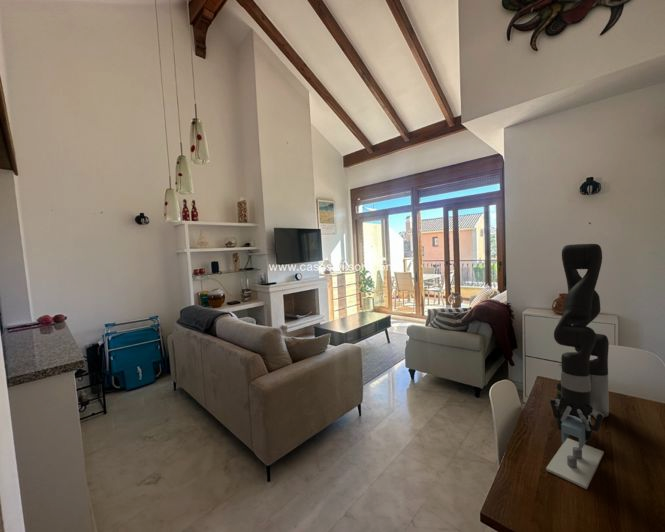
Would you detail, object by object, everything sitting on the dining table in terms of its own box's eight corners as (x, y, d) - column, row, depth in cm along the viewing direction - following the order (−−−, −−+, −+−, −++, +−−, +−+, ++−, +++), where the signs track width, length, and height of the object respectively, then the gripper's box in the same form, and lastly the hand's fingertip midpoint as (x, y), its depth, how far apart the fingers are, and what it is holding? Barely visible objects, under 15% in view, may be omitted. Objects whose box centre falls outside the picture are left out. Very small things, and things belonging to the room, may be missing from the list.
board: (566, 439, 107) (566, 431, 107) (603, 453, 100) (603, 444, 99) (546, 470, 94) (545, 460, 94) (586, 489, 86) (586, 478, 86)
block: (572, 427, 103) (572, 410, 103) (591, 433, 99) (590, 416, 99) (561, 442, 96) (561, 424, 95) (581, 449, 92) (580, 431, 91)
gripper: (607, 389, 93) (608, 441, 94) (552, 375, 104) (554, 422, 105) (602, 397, 88) (602, 452, 89) (545, 382, 100) (546, 431, 101)
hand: (576, 435), depth 97 cm, fingers closed on block, 5 cm apart
